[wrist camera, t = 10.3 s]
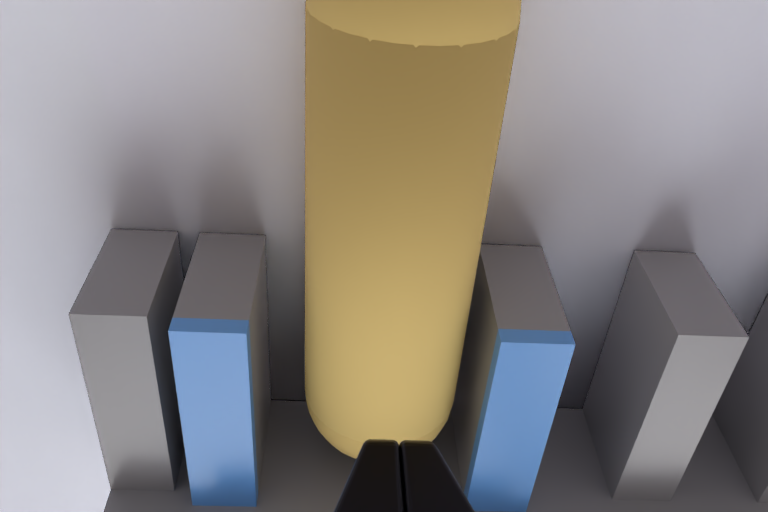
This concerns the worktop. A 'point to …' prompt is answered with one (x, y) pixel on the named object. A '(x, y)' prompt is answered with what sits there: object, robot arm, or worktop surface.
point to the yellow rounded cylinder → (396, 204)
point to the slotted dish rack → (471, 402)
